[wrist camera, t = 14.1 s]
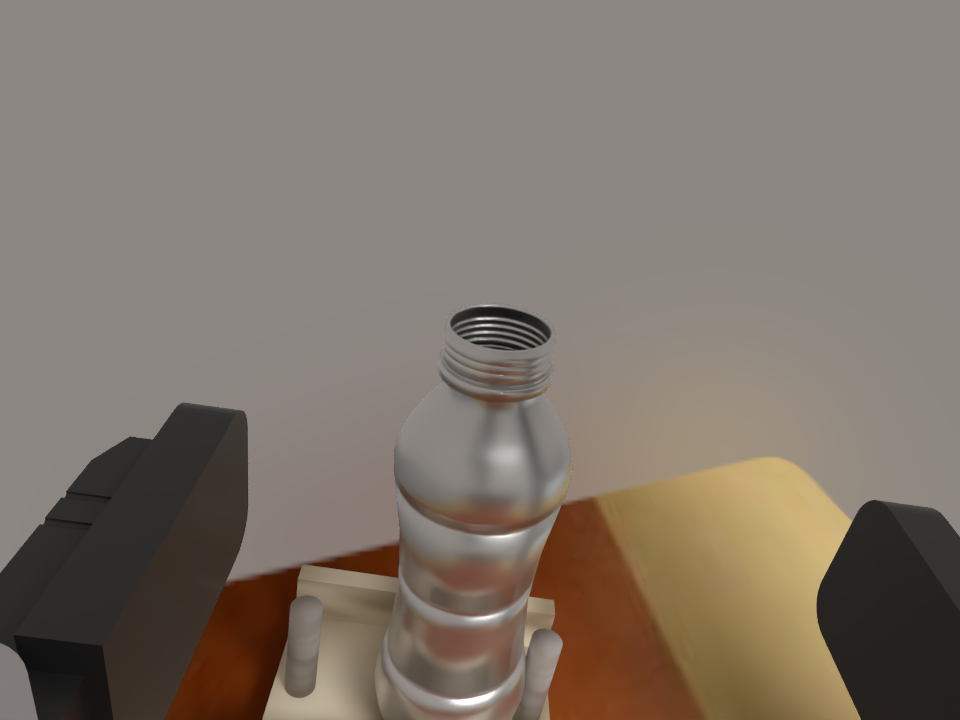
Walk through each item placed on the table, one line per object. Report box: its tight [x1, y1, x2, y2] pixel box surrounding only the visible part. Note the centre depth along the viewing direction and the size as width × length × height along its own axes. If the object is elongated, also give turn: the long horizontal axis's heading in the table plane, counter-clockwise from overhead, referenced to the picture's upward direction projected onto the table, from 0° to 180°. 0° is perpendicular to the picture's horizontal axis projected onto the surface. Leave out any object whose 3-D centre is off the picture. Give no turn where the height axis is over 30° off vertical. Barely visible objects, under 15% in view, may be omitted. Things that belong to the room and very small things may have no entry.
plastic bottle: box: [374, 304, 573, 720], centre depth 29 cm, size 6×7×20 cm
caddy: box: [262, 564, 563, 720], centre depth 34 cm, size 13×10×6 cm
